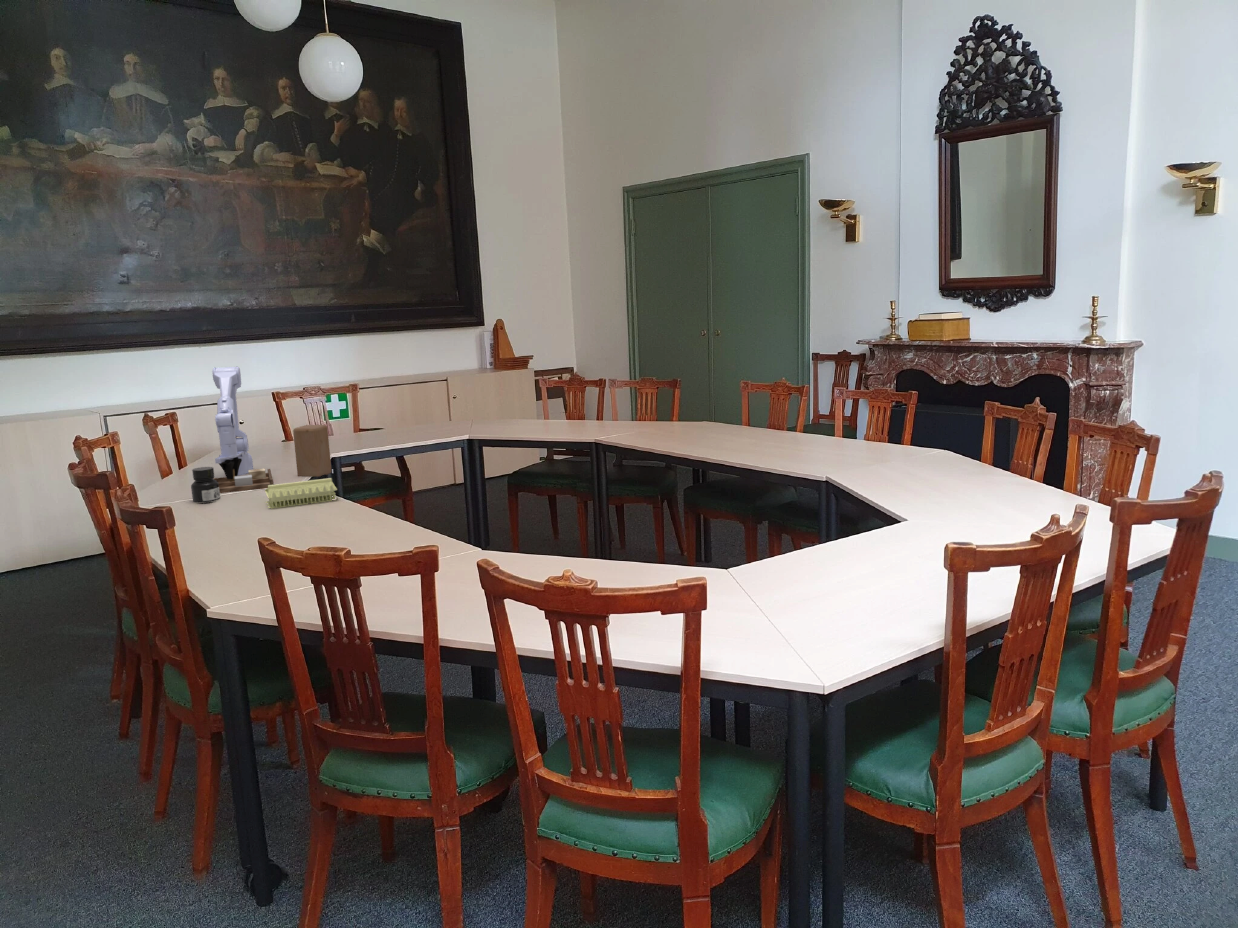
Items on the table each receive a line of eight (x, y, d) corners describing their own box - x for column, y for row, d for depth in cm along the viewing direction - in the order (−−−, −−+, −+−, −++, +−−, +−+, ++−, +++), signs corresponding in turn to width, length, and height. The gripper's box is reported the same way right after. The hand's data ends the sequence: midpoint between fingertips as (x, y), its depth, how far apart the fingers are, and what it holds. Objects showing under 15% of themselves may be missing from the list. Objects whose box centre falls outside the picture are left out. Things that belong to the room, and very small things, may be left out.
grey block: (235, 489, 325) (234, 478, 324) (235, 486, 330) (234, 476, 329) (253, 487, 327) (251, 477, 327) (252, 485, 332) (251, 474, 331)
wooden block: (319, 478, 344) (314, 428, 341) (296, 478, 346) (291, 428, 343) (332, 473, 354) (328, 424, 350) (310, 472, 356) (305, 424, 352)
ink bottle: (209, 505, 305) (204, 471, 302) (186, 504, 307) (182, 471, 304) (226, 498, 314) (222, 466, 312) (204, 498, 316) (200, 465, 314)
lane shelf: (203, 497, 317) (202, 486, 317) (205, 484, 339) (203, 475, 338) (273, 489, 327) (272, 479, 326) (271, 477, 348) (270, 468, 348)
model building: (335, 493, 319) (334, 474, 317) (342, 501, 307) (340, 481, 305) (262, 502, 308) (260, 482, 306) (266, 510, 296) (263, 490, 294)
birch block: (229, 484, 334) (228, 470, 333) (229, 482, 339) (228, 468, 338) (266, 480, 339) (264, 467, 338) (265, 478, 344) (264, 465, 343)
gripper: (231, 440, 342) (235, 474, 344) (206, 446, 328) (210, 482, 330) (247, 440, 340) (250, 474, 343) (222, 447, 326) (227, 482, 329)
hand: (232, 478), depth 337 cm, fingers closed on birch block, 2 cm apart
